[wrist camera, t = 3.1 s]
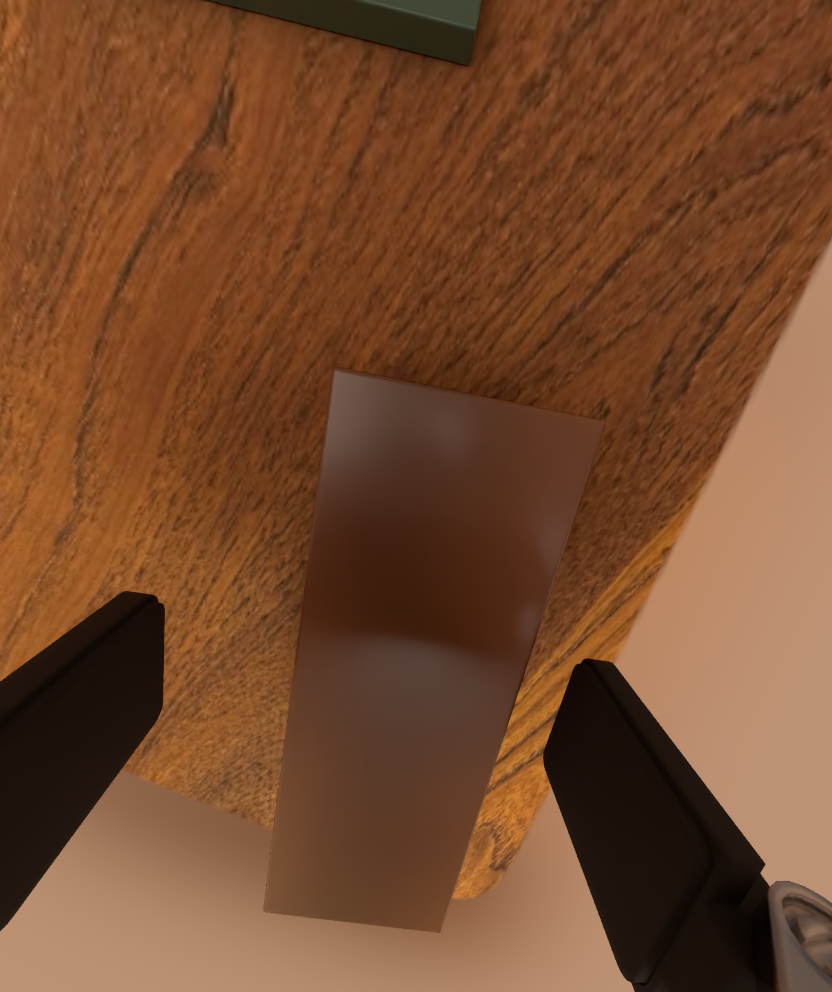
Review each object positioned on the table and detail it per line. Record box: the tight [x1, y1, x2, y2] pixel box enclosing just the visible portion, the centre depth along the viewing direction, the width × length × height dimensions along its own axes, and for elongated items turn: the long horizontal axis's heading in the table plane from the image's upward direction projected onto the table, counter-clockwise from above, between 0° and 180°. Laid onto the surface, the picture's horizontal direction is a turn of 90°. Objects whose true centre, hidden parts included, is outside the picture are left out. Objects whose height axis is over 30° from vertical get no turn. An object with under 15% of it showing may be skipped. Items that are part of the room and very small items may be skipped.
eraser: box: [264, 367, 604, 933], centre depth 10 cm, size 4×13×6 cm, turn 169°
